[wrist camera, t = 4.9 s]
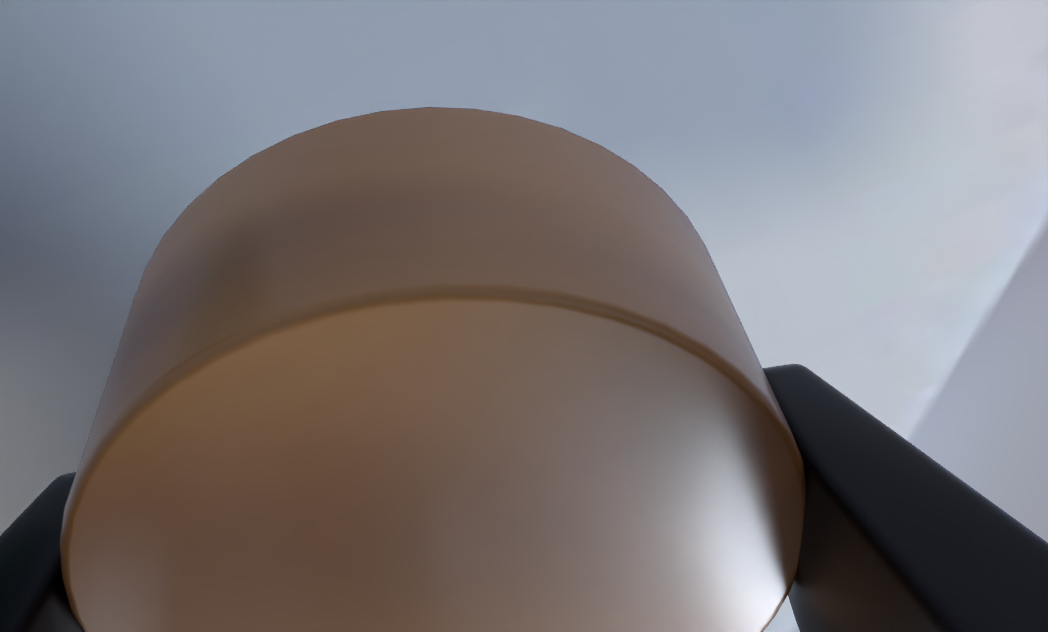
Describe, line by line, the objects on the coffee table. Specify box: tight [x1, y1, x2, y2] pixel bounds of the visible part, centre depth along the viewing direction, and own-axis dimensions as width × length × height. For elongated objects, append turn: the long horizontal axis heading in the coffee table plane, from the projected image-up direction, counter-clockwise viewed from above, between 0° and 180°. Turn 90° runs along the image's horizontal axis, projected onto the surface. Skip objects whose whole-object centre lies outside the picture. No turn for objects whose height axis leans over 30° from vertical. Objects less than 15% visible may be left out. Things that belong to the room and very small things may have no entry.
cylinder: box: [60, 107, 806, 632], centre depth 8 cm, size 6×6×2 cm
